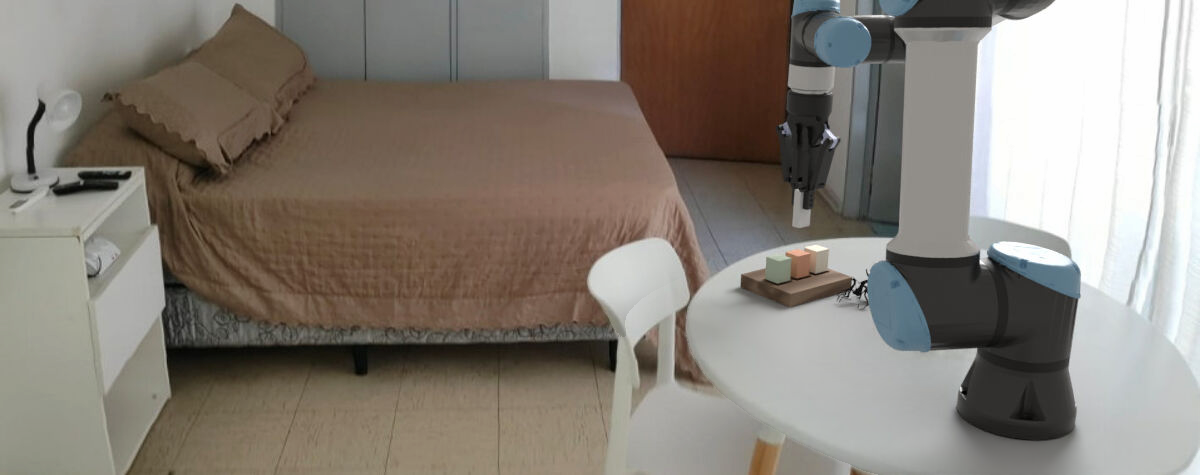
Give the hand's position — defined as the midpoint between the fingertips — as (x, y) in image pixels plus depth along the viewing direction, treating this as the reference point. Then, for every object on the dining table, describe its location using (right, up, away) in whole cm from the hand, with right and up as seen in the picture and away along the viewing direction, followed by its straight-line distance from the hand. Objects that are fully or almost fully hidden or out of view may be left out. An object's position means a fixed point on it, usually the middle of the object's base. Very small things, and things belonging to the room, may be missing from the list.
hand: (800, 225), depth 203 cm
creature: (+9, -13, -2) cm, 16 cm away
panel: (0, -11, +3) cm, 11 cm away
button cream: (+3, -8, +5) cm, 10 cm away
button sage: (-4, -9, 0) cm, 10 cm away
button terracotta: (0, -8, +2) cm, 9 cm away
